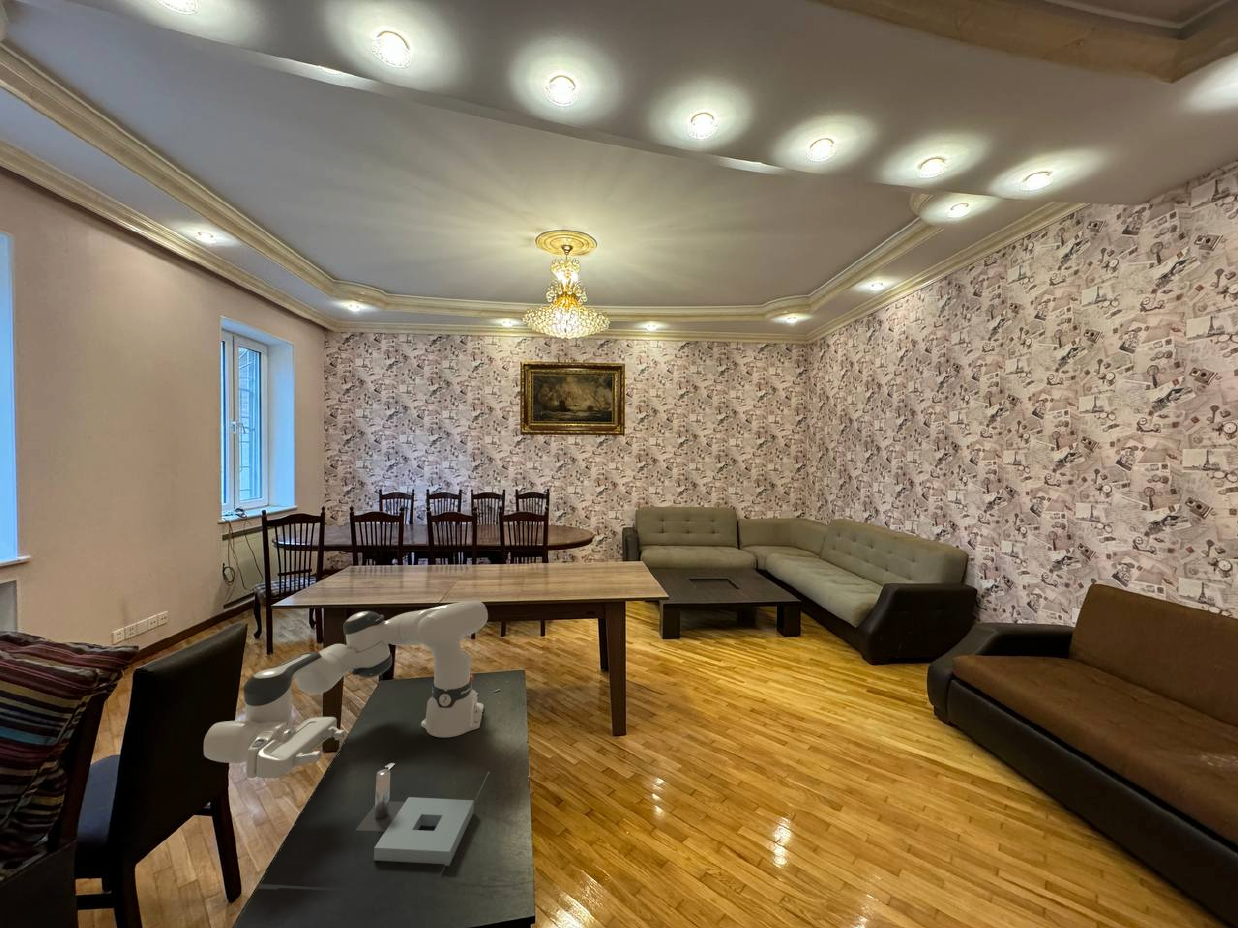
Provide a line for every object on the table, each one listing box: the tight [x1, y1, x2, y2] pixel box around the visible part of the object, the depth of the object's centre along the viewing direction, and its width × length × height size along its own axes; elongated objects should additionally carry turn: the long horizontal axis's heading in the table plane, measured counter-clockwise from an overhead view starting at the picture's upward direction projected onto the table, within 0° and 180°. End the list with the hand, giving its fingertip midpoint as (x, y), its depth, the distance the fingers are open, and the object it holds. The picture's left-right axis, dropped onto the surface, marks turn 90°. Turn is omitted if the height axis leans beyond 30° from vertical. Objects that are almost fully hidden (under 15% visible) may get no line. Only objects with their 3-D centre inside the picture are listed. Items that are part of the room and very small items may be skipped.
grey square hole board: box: [373, 796, 475, 867], centre depth 111 cm, size 16×16×3 cm
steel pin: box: [374, 768, 391, 820], centre depth 116 cm, size 3×3×10 cm
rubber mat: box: [355, 800, 406, 833], centre depth 116 cm, size 10×7×1 cm
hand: (332, 745), depth 116 cm, fingers open, 8 cm apart
